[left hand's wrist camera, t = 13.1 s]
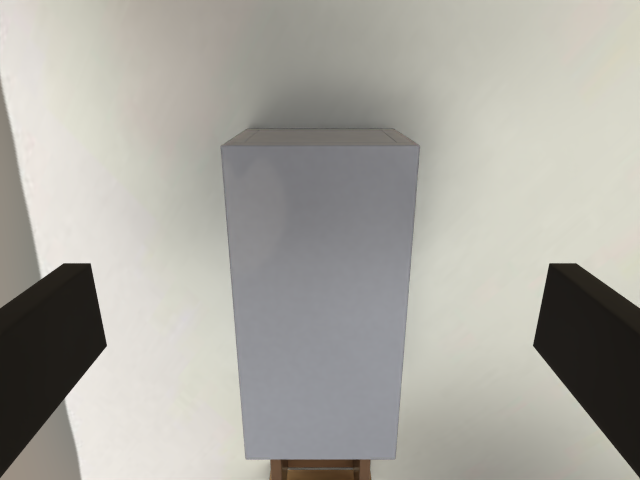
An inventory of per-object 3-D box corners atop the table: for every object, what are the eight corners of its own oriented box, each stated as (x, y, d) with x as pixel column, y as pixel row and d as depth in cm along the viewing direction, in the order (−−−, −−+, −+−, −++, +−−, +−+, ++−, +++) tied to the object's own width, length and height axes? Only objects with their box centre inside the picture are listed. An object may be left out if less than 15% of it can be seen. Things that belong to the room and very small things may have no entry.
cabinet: (379, 380, 39) (395, 459, 30) (260, 380, 39) (245, 460, 30) (394, 128, 31) (420, 145, 23) (246, 128, 31) (220, 145, 23)
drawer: (367, 518, 43) (375, 591, 37) (273, 518, 43) (265, 591, 37) (379, 284, 34) (393, 329, 28) (260, 285, 34) (247, 329, 28)
